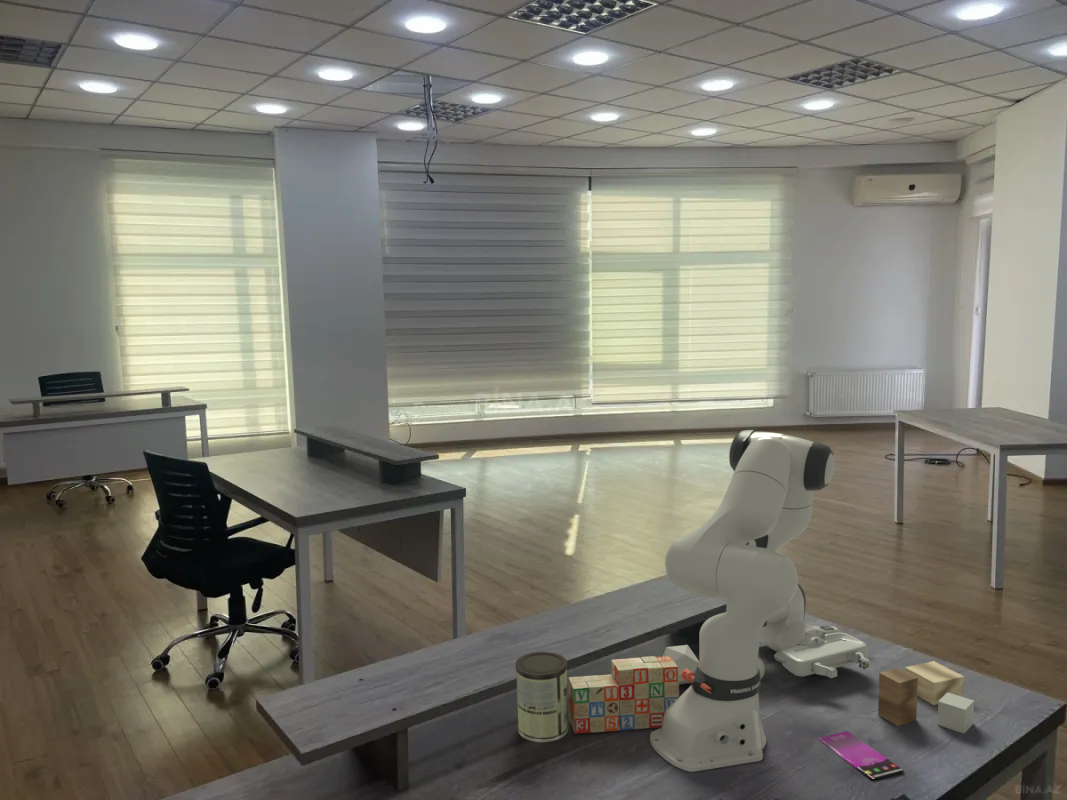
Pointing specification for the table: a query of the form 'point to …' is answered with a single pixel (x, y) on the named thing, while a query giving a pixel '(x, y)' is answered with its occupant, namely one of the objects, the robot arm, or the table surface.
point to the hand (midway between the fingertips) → (851, 669)
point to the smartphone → (861, 756)
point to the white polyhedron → (682, 660)
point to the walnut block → (897, 696)
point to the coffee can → (542, 696)
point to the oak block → (936, 681)
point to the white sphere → (761, 667)
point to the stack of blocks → (624, 695)
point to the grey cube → (955, 712)
